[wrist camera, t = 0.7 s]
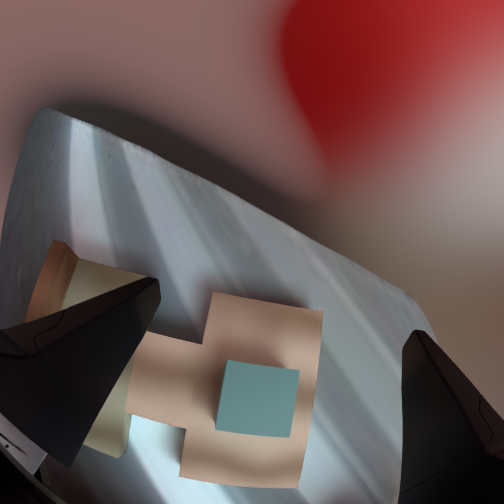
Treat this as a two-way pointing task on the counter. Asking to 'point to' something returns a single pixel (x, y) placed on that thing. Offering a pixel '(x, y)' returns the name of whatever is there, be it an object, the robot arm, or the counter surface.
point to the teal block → (256, 399)
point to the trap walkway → (196, 375)
